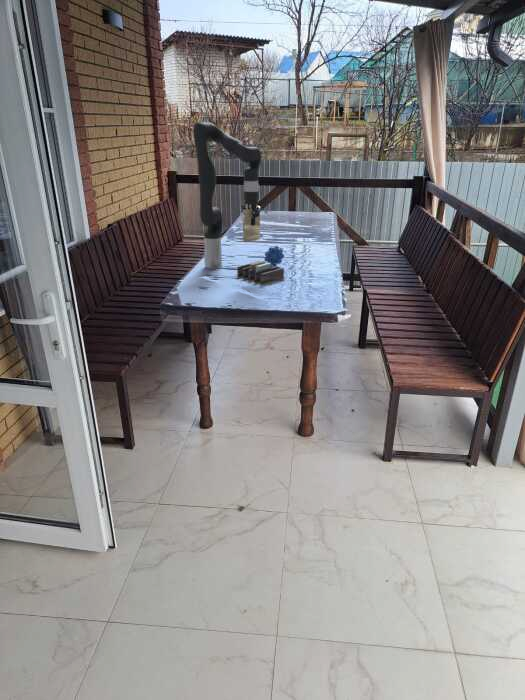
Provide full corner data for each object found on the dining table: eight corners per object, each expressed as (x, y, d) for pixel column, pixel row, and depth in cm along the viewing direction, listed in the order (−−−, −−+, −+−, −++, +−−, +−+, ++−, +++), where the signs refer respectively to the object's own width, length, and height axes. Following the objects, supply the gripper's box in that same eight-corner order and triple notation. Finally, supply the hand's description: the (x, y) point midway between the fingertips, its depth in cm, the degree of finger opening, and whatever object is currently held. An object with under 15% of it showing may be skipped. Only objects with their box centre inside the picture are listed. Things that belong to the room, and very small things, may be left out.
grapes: (285, 265, 283) (286, 244, 278) (283, 268, 278) (283, 247, 272) (266, 263, 286) (266, 243, 281) (263, 266, 280) (263, 246, 275)
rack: (234, 278, 261) (233, 266, 258) (259, 271, 272) (258, 260, 269) (262, 287, 246) (262, 275, 244) (287, 280, 258) (287, 268, 255)
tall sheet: (243, 241, 253) (242, 209, 246) (257, 238, 259) (257, 207, 252) (245, 242, 251) (245, 210, 244) (259, 239, 258) (259, 208, 251)
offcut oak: (250, 277, 258) (249, 264, 255) (262, 273, 263) (262, 260, 260) (252, 277, 257) (252, 264, 254) (265, 274, 262) (265, 261, 259)
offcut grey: (255, 278, 255) (255, 265, 252) (268, 275, 261) (268, 262, 257) (258, 279, 254) (258, 266, 251) (270, 276, 259) (270, 263, 256)
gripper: (236, 189, 246) (237, 224, 254) (254, 192, 237) (255, 228, 245) (247, 187, 251) (248, 222, 259) (266, 190, 242) (265, 226, 249)
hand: (251, 224), depth 252 cm, fingers closed on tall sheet, 2 cm apart
